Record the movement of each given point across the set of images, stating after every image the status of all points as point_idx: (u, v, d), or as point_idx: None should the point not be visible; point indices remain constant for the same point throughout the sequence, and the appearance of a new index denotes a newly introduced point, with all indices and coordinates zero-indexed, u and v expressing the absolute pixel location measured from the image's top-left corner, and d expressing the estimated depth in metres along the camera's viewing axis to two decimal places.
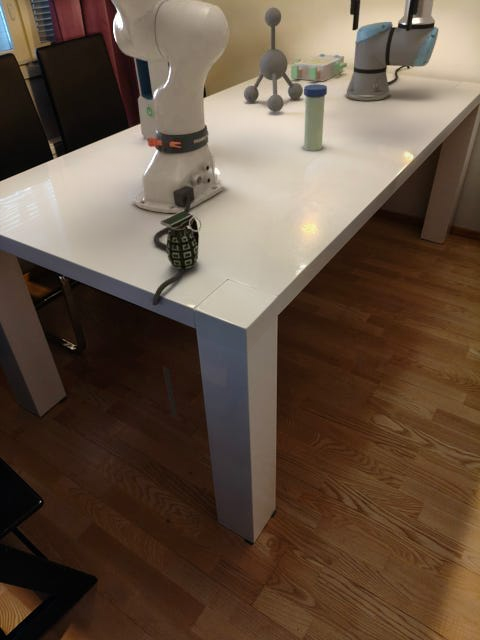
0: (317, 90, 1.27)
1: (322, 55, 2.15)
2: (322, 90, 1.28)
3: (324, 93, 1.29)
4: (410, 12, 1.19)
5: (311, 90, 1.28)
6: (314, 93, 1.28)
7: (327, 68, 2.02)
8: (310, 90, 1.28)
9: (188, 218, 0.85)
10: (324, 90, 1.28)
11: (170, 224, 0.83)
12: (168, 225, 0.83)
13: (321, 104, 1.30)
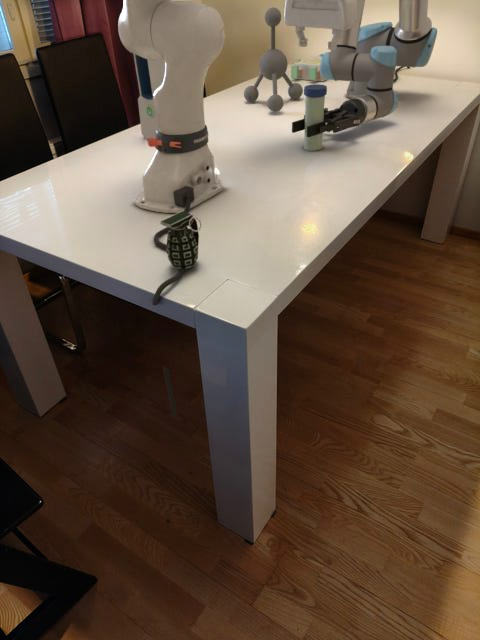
0: (317, 90, 1.27)
1: (322, 55, 2.15)
2: (322, 90, 1.28)
3: (324, 93, 1.29)
4: None
5: (311, 90, 1.28)
6: (314, 93, 1.28)
7: None
8: (310, 90, 1.28)
9: (188, 218, 0.85)
10: (324, 90, 1.28)
11: (170, 224, 0.83)
12: (168, 225, 0.83)
13: (321, 104, 1.30)
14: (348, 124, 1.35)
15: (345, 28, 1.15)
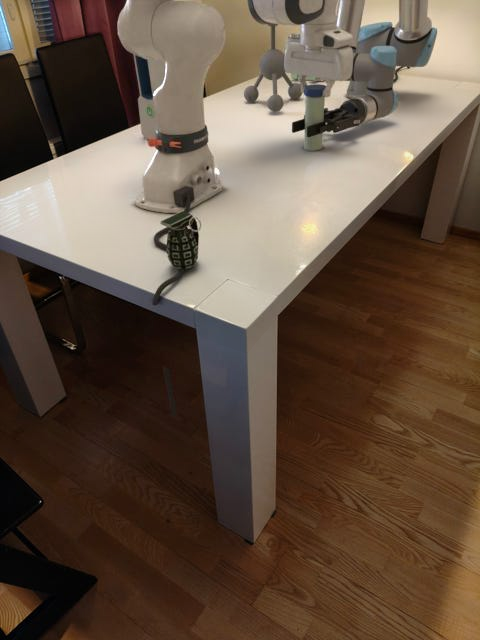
0: (317, 90, 1.27)
1: None
2: None
3: None
4: None
5: (311, 90, 1.28)
6: (314, 93, 1.28)
7: None
8: (310, 90, 1.28)
9: (188, 218, 0.85)
10: None
11: (170, 224, 0.83)
12: (168, 225, 0.83)
13: (321, 104, 1.30)
14: (348, 124, 1.35)
15: (341, 79, 1.21)
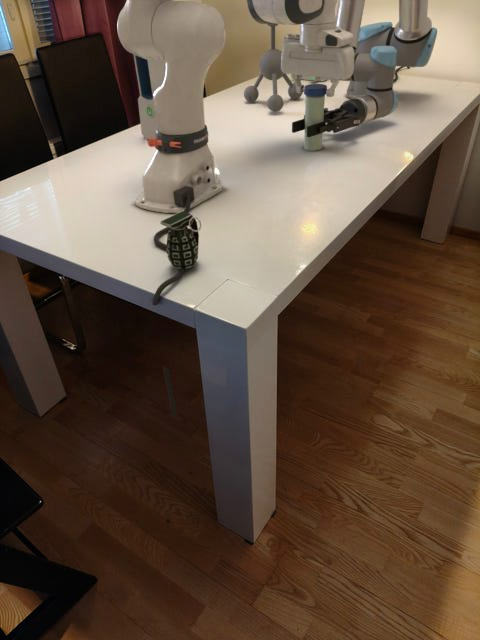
0: (326, 87, 1.29)
1: None
2: (326, 87, 1.30)
3: None
4: None
5: (322, 89, 1.28)
6: (324, 91, 1.29)
7: None
8: (322, 89, 1.28)
9: (188, 218, 0.85)
10: None
11: (170, 224, 0.83)
12: (168, 225, 0.83)
13: (321, 104, 1.30)
14: (348, 124, 1.35)
15: (344, 78, 1.22)
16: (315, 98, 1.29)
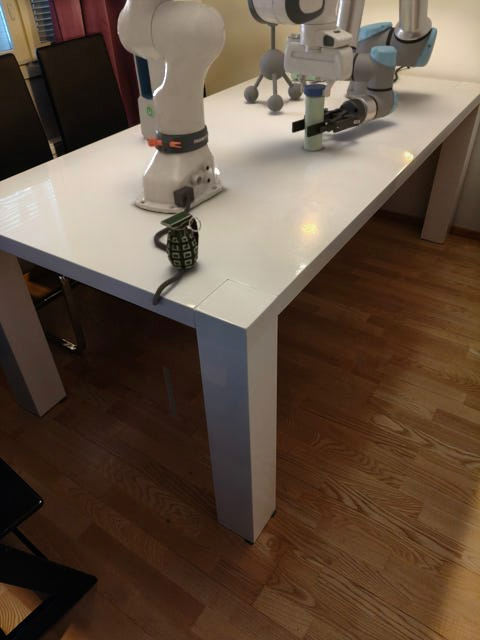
0: None
1: None
2: None
3: None
4: None
5: None
6: None
7: None
8: (321, 89, 1.28)
9: (188, 218, 0.85)
10: None
11: (170, 224, 0.83)
12: (168, 225, 0.83)
13: (321, 104, 1.30)
14: (348, 124, 1.35)
15: (341, 79, 1.21)
16: (315, 98, 1.29)
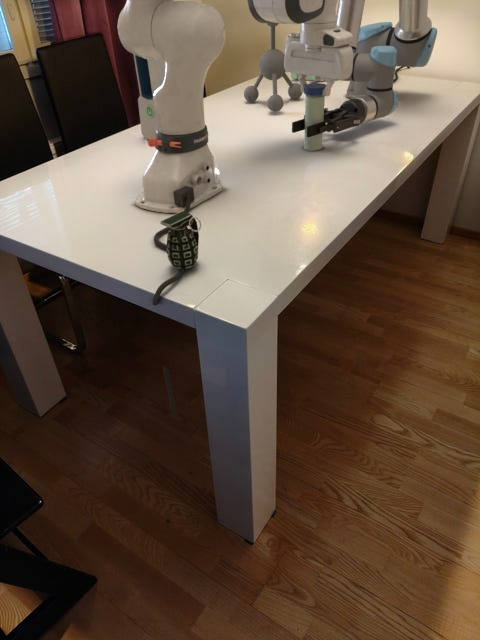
0: None
1: None
2: None
3: None
4: None
5: None
6: None
7: None
8: None
9: (188, 218, 0.85)
10: None
11: (170, 224, 0.83)
12: (168, 225, 0.83)
13: (321, 104, 1.30)
14: (348, 124, 1.35)
15: (341, 78, 1.21)
16: (315, 98, 1.29)
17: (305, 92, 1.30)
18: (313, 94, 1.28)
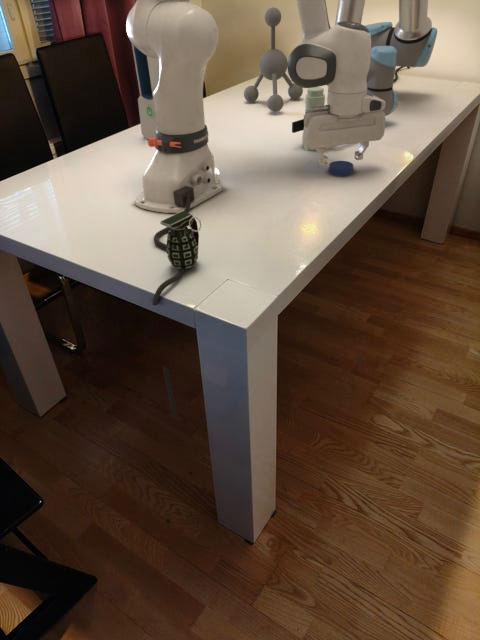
0: None
1: None
2: None
3: None
4: None
5: None
6: None
7: None
8: None
9: (188, 218, 0.85)
10: None
11: (170, 224, 0.83)
12: (168, 225, 0.83)
13: (321, 104, 1.30)
14: None
15: None
16: (315, 98, 1.29)
17: (341, 174, 1.22)
18: (350, 173, 1.22)
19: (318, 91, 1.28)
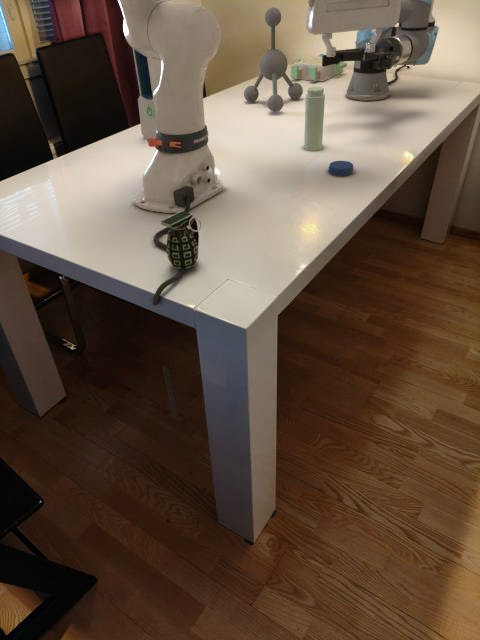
0: None
1: (322, 55, 2.15)
2: None
3: None
4: None
5: None
6: None
7: (327, 68, 2.02)
8: None
9: (188, 218, 0.85)
10: None
11: (170, 224, 0.83)
12: (168, 225, 0.83)
13: (321, 104, 1.30)
14: (394, 60, 1.33)
15: (395, 24, 1.05)
16: (315, 98, 1.29)
17: (341, 174, 1.22)
18: (350, 173, 1.22)
19: (318, 91, 1.28)
